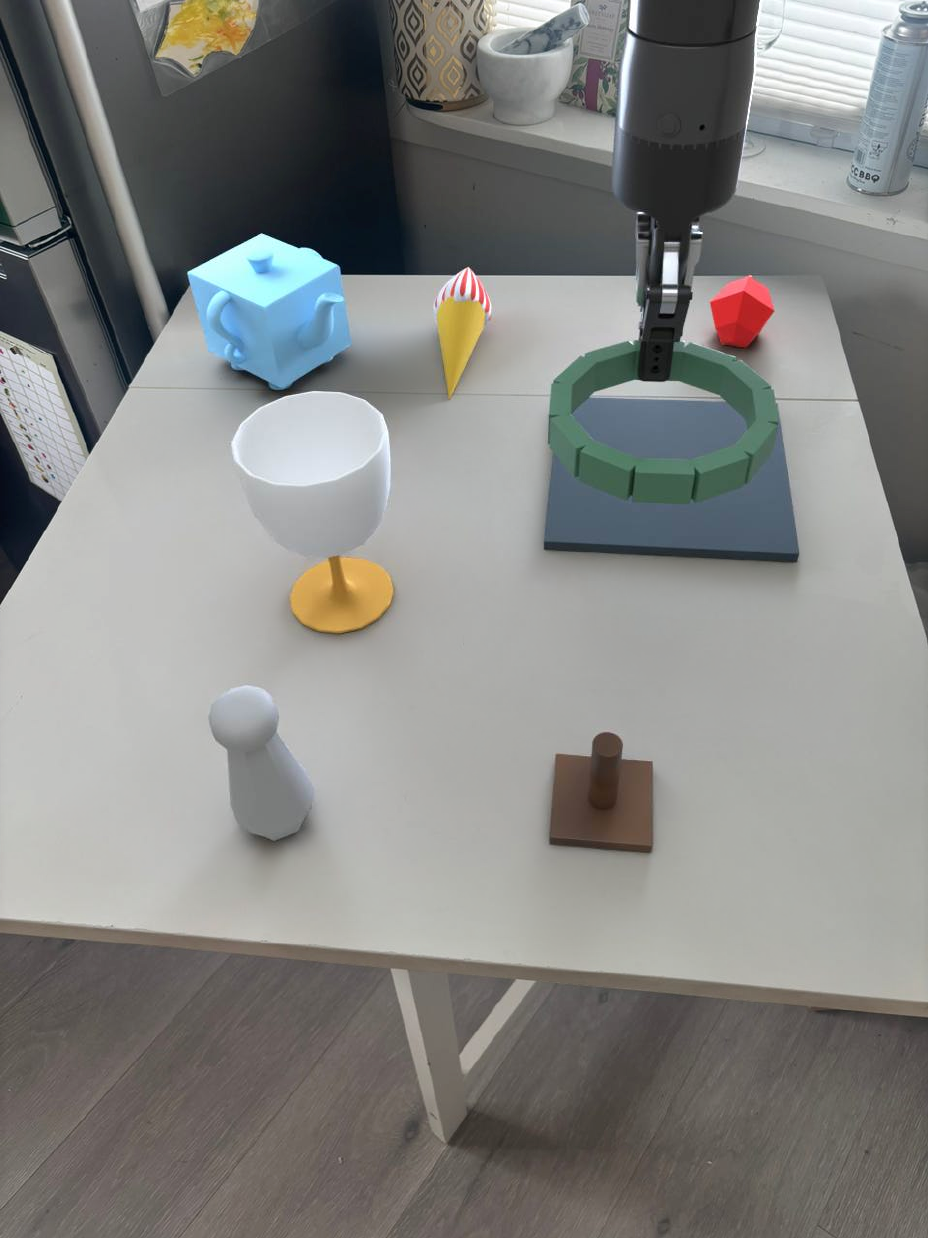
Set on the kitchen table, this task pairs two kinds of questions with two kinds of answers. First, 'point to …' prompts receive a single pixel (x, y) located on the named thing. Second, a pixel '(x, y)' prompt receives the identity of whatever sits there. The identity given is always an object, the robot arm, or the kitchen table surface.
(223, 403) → the kitchen table surface
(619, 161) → the robot arm
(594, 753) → the ring toss
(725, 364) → the ring
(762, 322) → the red faceted gem
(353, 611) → the cup
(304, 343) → the teapot
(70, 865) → the kitchen table surface
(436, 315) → the ice cream cone
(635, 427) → the mat
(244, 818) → the white game pawn
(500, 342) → the kitchen table surface
